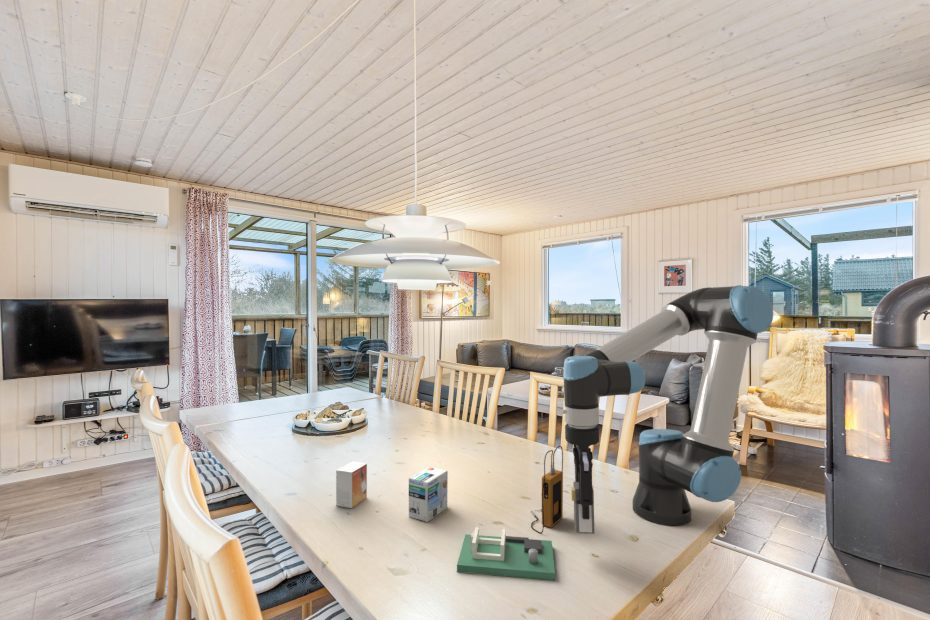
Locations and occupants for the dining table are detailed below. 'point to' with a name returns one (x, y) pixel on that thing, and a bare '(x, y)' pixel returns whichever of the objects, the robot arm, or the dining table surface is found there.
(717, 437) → the robot arm
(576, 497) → the plug
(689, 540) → the dining table surface
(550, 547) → the board
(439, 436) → the dining table surface
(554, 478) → the multimeter
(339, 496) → the small box
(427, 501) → the light bulb box
